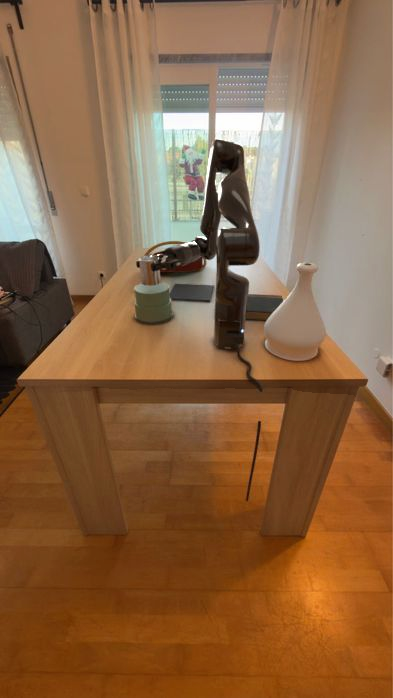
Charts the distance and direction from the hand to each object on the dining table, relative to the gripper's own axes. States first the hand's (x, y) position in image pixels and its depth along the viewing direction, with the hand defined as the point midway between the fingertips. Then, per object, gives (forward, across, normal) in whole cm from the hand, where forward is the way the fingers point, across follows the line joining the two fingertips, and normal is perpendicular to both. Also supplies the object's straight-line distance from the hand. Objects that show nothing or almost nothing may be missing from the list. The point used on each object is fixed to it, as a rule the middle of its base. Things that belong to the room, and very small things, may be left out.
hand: (144, 266), depth 93 cm
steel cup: (-2, 0, +6) cm, 6 cm away
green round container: (-2, 0, +19) cm, 19 cm away
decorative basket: (-50, -32, +19) cm, 62 cm away
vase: (-13, +48, +19) cm, 53 cm away
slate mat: (-29, -4, +19) cm, 35 cm away
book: (-28, +25, +19) cm, 43 cm away
